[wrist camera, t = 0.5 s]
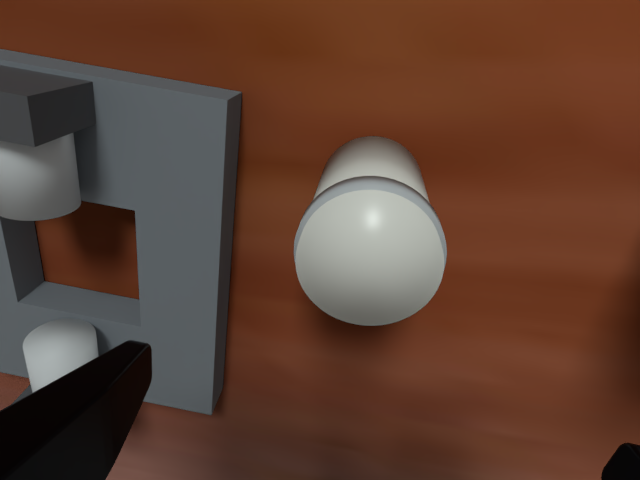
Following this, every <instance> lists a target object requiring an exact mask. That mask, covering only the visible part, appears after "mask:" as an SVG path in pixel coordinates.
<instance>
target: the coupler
mask: <svg viewBox="0 0 640 480" xmlns="http://www.w3.org/2000/svg"><path fill="white" fill-rule="evenodd" d="M446 256H447V249H446V241H445V236H444V233H443V230H442V226H441V223H440V221H439V218H438V216H437V214H436V212H435V210H434V208H433V207H432V206H431V204H430V203H429V199H428V196H427V192H426V189H425V185H424V182H423V178H422V175H421V171H420V168H419V166H418V163H417V162H416V160H415V158H414V157H413V155H412V154H411V153H410V152H409V151H408V150H407V149H406V148H405V147H403V146H402V145H401V144H399V143H397V142H395V141H393V140H391V139H388V138H384V137H378V136H366V137H360V138H357V139H354V140H351V141H349V142H347V143H345V144H344V145H342V146H341V147H339V148H338V149H337V150H336V151H335V152H334V153H333V154H332V155H331V157H330V158H329V159H328V161H327V163H326V165H325V167H324V170H323V173H322V176H321V179H320V182H319V184H318V187H317V190H316V193H315V196H314V199H313V201H312V202H311V204H310V205H309V206H308V207H307V209H306V211H305V213H304V215H303V217H302V220H301V222H300V225H299V228H298V230H297V233H296V237H295V242H294V260H295V264H296V271H297V276H298V279H299V281H300V284H301V286H302V288H303V290H304V291H305V293H306V294H307V296H308V297H309V298H310V300H311V301H312V302H313V303H314V304H315V305H316V306H318V307H319V308H320V309H321V310H322V311H324V312H326V313H327V314H329V315H330V316H332V317H334V318H336V319H339V320H342V321H344V322H348V323H352V324H356V325H363V326H377V325H385V324H391V323H394V322H398V321H400V320H403V319H405V318H407V317H409V316H411V315H413V314H415V313H416V312H417V311H419V310H420V309H422V308H423V307H424V306H425V305H426V304H427V303H428V302H429V301H430V299H431V298H432V297H433V296H434V294H435V293H436V291H437V289H438V287H439V285H440V283H441V280H442V276H443V272H444V268H445V264H446Z"/></svg>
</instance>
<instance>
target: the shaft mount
mask: <svg viewBox="0 0 640 480" xmlns="http://www.w3.org/2000/svg"><path fill="white" fill-rule="evenodd" d="M241 100H242V92H239V91H233V90H227V89H222V88H216V87H211V86H205V85H199V84H194V83H188V82H183V81H177V80H171V79H166V78H160V77H155V76H149V75H143V74H138V73H132V72H127V71H121V70H115V69H110V68H104V67H99V66H93V65H87V64H82V63H76V62H71V61H65V60H59V59H54V58H48V57H43V56H37V55H31V54H26V53H20V52H15V51H9V50H3V49H0V372H2V373H7V374H12V375H17V376H22V377H27V378H29V379H30V385H29V386H28V388H27V389H26V390H25V391H24V392H23V393H22V394H21V395H20V396H19V397H18V398H17V399H16V400H15V401H14V402H13V403H15V402H17V401H19V400H21V399H22V398H24V397H26V396H28V395H30V394H31V393H33V392H35V391H37V390H39V389H41V388H42V387H44V386H46V385H48V384H50V383H51V382H53V381H55V380H57V379H59V378H60V377H62V376H64V375H66V374H68V373H69V372H71V371H73V370H75V369H77V368H78V367H80V366H82V365H84V364H86V363H87V362H89V361H91V360H93V359H95V358H97V357H98V356H100V355H102V354H104V353H106V352H107V351H109V350H111V349H113V348H115V347H116V346H118V345H120V344H122V343H124V342H126V341H128V340H135V341H139V342H144V343H148V344H149V345H150V346H151V349H152V380H151V384H150V387H149V389H148V391H147V394H146V396H145V398H144V400H143V401H145V402H149V403H154V404H159V405H164V406H169V407H174V408H179V409H184V410H189V411H194V412H199V413H203V414H208V415H212V413H213V410H214V408H215V406H216V403H217V401H218V398H219V396H220V394H221V391H222V389H223V378H224V363H225V347H226V332H227V316H228V301H229V285H230V270H231V255H232V239H233V224H234V208H235V193H236V177H237V162H238V146H239V131H240V116H241ZM81 201H87V202H92V203H97V204H103V205H108V206H113V207H118V208H124V209H129V210H134V211H135V222H136V241H137V261H138V280H139V299H140V300H138V299H133V298H128V297H123V296H117V295H112V294H107V293H102V292H97V291H92V290H87V289H82V288H77V287H72V286H66V285H61V284H56V283H51V282H46V281H44V276H43V270H42V264H41V259H40V253H39V247H38V241H37V235H36V229H35V224H34V221H37V220H47V219H53V218H57V217H61V216H64V215H67V214H69V213H72V212H73V211H75V210H76V209H78V208H79V207H80V205H81ZM13 403H12V404H13ZM12 404H11V405H12Z"/></svg>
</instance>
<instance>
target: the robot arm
mask: <svg viewBox="0 0 640 480" xmlns="http://www.w3.org/2000/svg"><path fill="white" fill-rule="evenodd" d="M151 380H152V349H151V346H150V345H149V344H148V343H144V342H139V341H135V340H128V341H126V342H124V343H122V344H120V345H118V346H116V347H115V348H113V349H111V350H109V351H107V352H106V353H104V354H102V355H100V356H98V357H97V358H95V359H93V360H91V361H89V362H87V363H86V364H84V365H82V366H80V367H78V368H77V369H75V370H73V371H71V372H69V373H68V374H66V375H64V376H62V377H60V378H59V379H57V380H55V381H53V382H51V383H50V384H48V385H46V386H44V387H42V388H41V389H39V390H37V391H35V392H33V393H31V394H30V395H28V396H26V397H24V398H22V399H21V400H19V401H17V402H15V403H13V404H12V405H10V406H8V407H6V408H4V409H3V410H1V411H0V480H105V479H106V478H107V476H108V474H109V472H110V470H111V469H112V467H113V465H114V463H115V461H116V459H117V457H118V455H119V453H120V451H121V448H122V446H123V444H124V442H125V440H126V437H127V435H128V433H129V431H130V429H131V426H132V424H133V422H134V420H135V418H136V416H137V413H138V411H139V409H140V407H141V405H142V402H143V400H144V398H145V396H146V394H147V391H148V389H149V387H150V384H151ZM601 479H602V480H640V445H636V444H631V443H624V444H622V445H620V446H619V447H618V449H617V450H616V452H615V453H614V454H613V456H612V457H611V459H610V460H609V461H608V463H607V464H606V466H605V467H604V469H603V471H602V477H601Z"/></svg>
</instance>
